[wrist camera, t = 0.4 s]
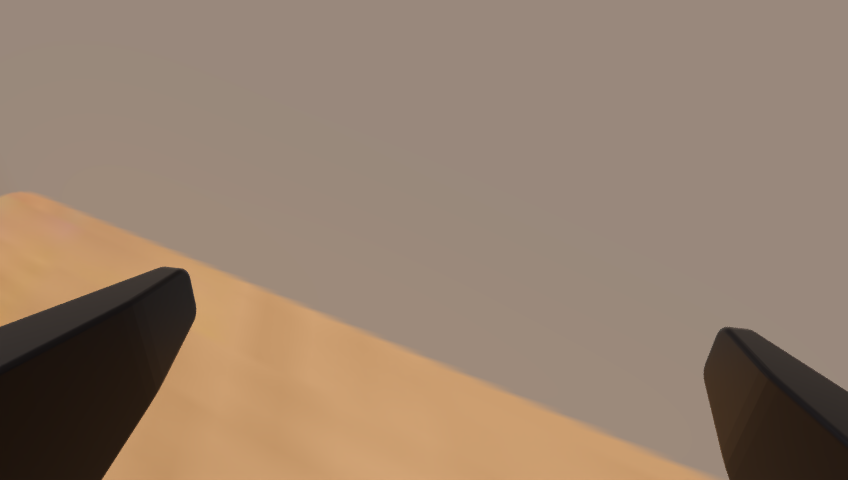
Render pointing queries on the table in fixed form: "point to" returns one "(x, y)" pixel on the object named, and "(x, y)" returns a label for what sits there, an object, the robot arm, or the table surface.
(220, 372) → the table surface
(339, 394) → the table surface
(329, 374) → the table surface
